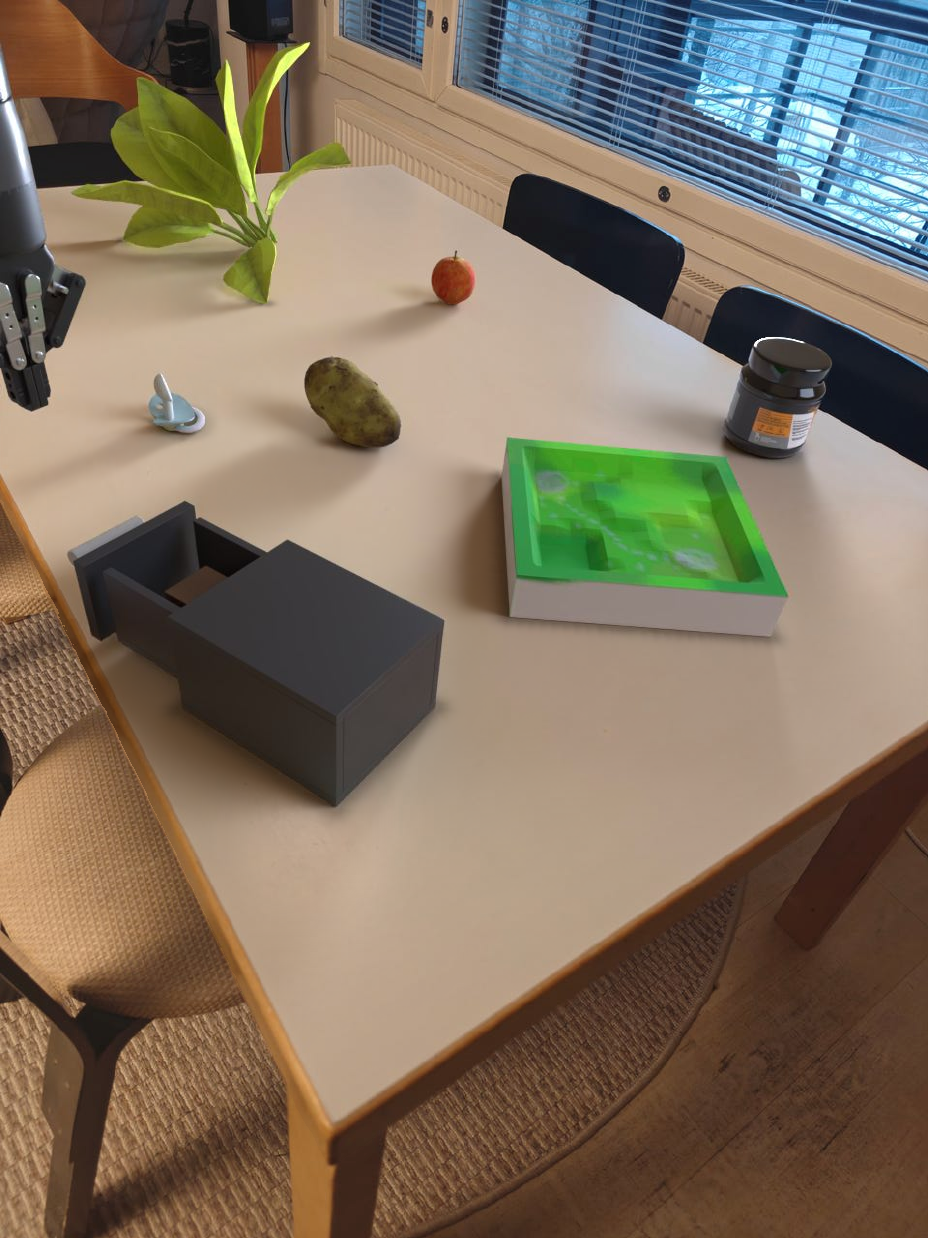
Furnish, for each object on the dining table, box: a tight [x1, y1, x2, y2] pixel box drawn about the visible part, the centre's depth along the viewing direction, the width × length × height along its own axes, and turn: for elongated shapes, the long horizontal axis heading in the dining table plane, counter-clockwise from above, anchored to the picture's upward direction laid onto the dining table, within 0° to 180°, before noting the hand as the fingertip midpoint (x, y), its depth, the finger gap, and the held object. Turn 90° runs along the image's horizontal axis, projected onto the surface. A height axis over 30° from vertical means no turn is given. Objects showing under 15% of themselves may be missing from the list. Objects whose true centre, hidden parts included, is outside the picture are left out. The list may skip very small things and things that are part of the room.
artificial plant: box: [70, 41, 352, 305], centre depth 133 cm, size 42×43×30 cm
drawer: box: [66, 500, 268, 679], centre depth 71 cm, size 19×11×8 cm, turn 57°
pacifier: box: [148, 373, 206, 434], centre depth 99 cm, size 7×6×6 cm
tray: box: [501, 436, 789, 638], centre depth 89 cm, size 25×25×5 cm
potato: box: [303, 355, 402, 448], centre depth 101 cm, size 8×13×8 cm, turn 34°
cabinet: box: [168, 539, 446, 808], centre depth 66 cm, size 16×13×10 cm
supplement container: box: [722, 337, 833, 459], centre depth 108 cm, size 10×10×12 cm
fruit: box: [430, 250, 476, 306], centre depth 136 cm, size 7×7×8 cm
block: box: [164, 566, 228, 608], centre depth 70 cm, size 4×4×4 cm
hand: (32, 405), depth 69 cm, fingers closed
